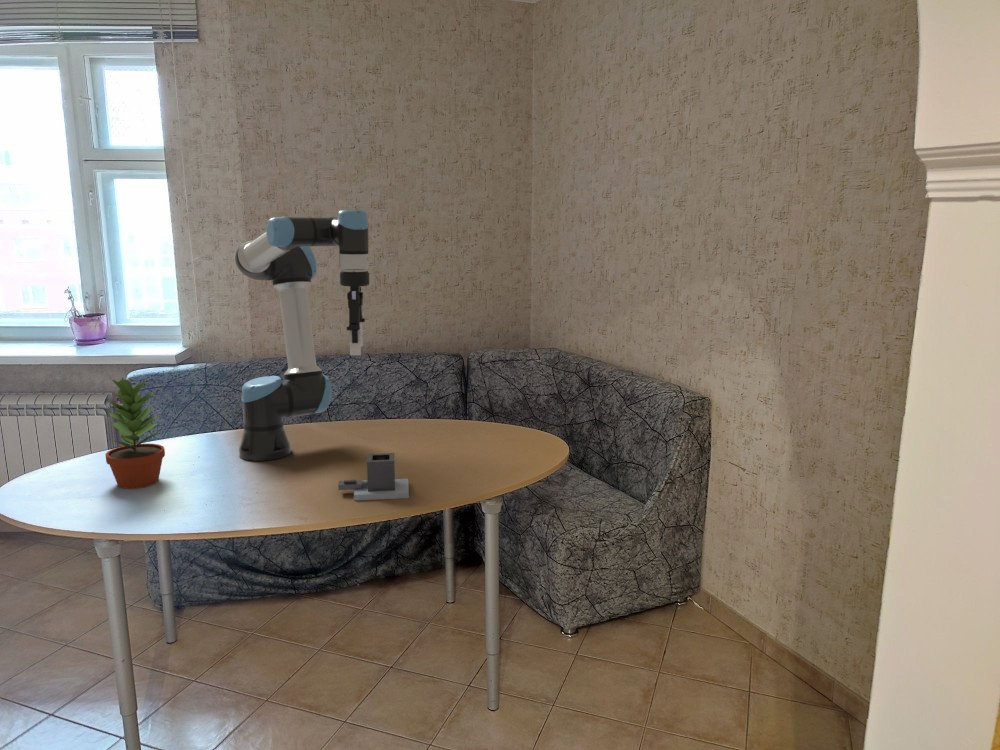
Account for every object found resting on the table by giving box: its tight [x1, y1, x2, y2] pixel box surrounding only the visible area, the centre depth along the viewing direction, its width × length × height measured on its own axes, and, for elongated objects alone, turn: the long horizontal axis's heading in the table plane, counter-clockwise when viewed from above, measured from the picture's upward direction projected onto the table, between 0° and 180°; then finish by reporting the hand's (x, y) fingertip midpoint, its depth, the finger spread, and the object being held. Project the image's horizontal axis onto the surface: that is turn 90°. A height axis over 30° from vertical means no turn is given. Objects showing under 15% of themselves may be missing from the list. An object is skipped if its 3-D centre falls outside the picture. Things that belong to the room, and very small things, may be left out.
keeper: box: [353, 478, 410, 501], centre depth 200 cm, size 14×11×8 cm
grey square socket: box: [337, 452, 396, 492], centre depth 199 cm, size 15×7×8 cm, turn 98°
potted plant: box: [105, 376, 166, 490], centre depth 204 cm, size 15×15×30 cm
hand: (356, 350), depth 202 cm, fingers open, 13 cm apart
